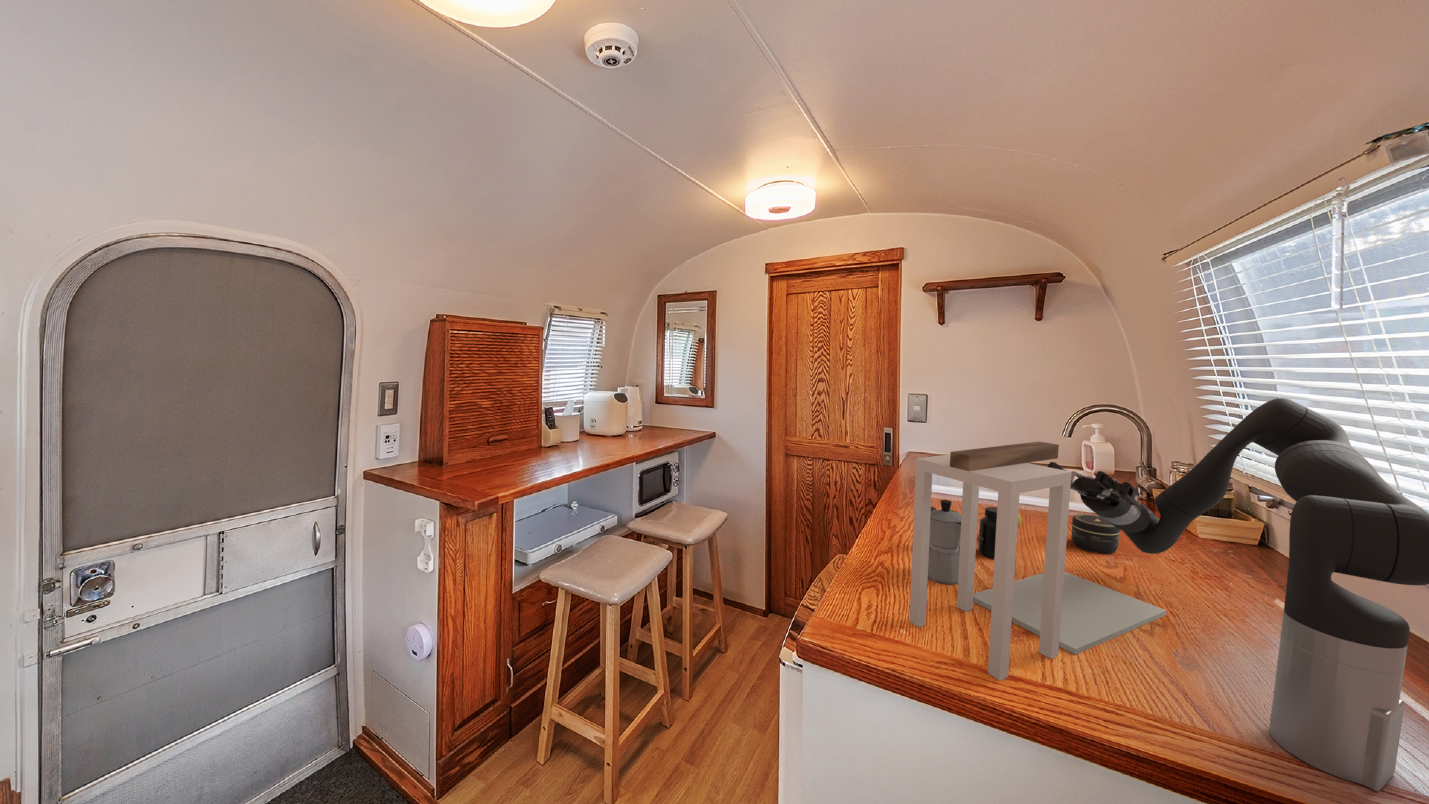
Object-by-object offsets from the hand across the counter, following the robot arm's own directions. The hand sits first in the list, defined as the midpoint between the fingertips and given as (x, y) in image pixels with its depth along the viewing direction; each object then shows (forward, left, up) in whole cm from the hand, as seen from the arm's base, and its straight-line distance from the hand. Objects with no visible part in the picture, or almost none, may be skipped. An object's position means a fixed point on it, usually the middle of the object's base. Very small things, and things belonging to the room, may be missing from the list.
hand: (1073, 470), depth 92 cm
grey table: (0, +25, -28) cm, 38 cm away
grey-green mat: (0, 0, -28) cm, 28 cm away
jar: (+15, -40, -29) cm, 52 cm away
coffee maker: (+21, +11, -29) cm, 37 cm away
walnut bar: (0, +21, +4) cm, 21 cm away
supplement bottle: (+23, -11, -29) cm, 39 cm away
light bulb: (+27, -22, -29) cm, 45 cm away
